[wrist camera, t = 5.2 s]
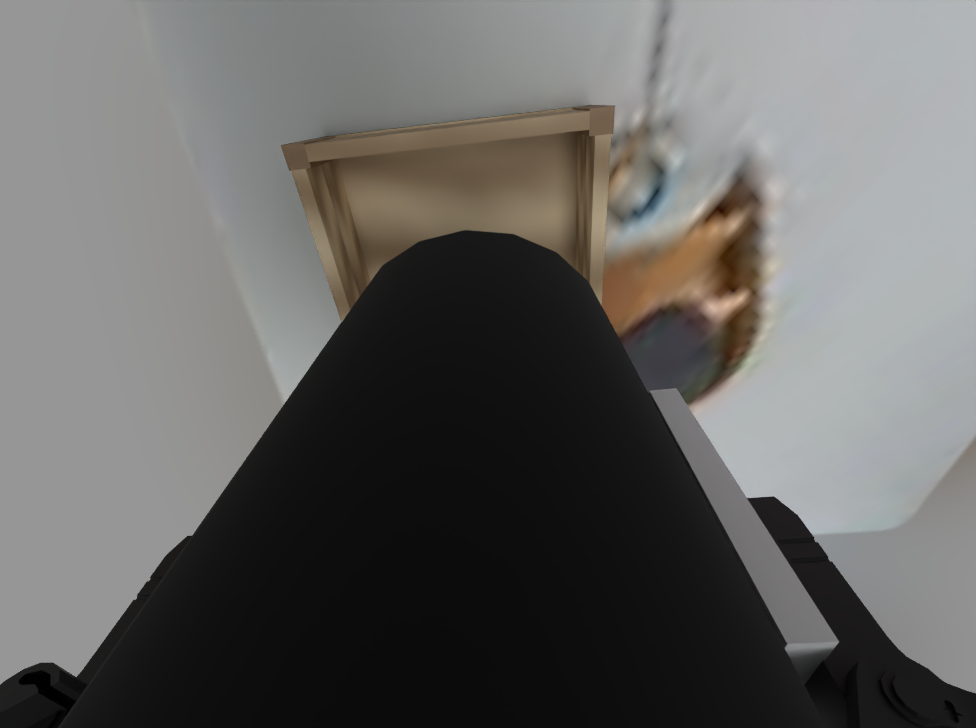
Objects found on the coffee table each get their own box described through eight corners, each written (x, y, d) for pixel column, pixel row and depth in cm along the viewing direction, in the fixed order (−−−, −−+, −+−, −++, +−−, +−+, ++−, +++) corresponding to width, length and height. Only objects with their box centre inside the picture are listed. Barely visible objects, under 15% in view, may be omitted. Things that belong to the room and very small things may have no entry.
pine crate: (322, 137, 26) (280, 145, 21) (590, 105, 25) (614, 105, 20) (385, 359, 35) (367, 402, 30) (583, 344, 34) (598, 386, 29)
